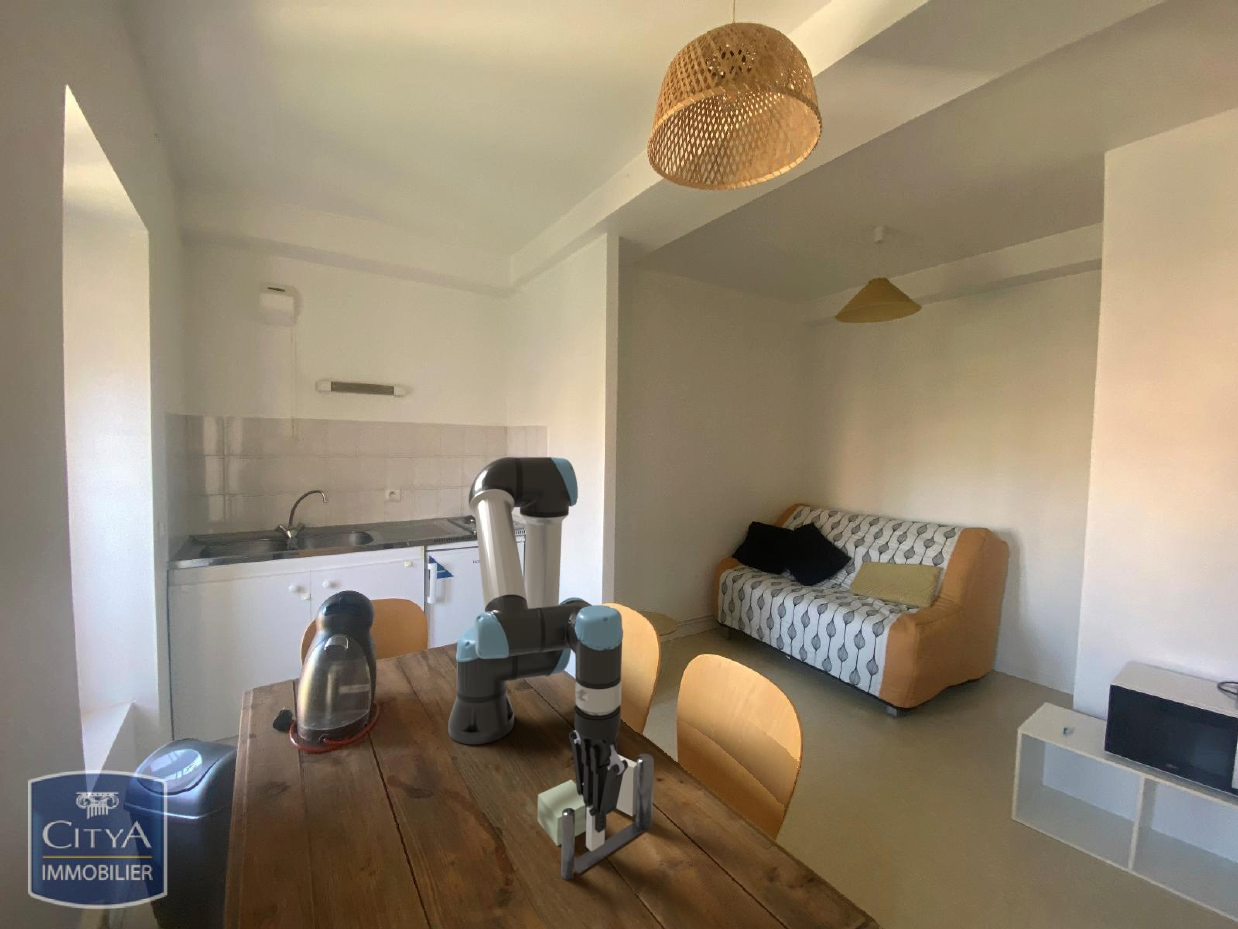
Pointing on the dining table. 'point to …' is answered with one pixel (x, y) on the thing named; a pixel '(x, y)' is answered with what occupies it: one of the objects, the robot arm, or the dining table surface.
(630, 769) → the gate
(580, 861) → the gate frame
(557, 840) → the pale green block
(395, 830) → the dining table surface
